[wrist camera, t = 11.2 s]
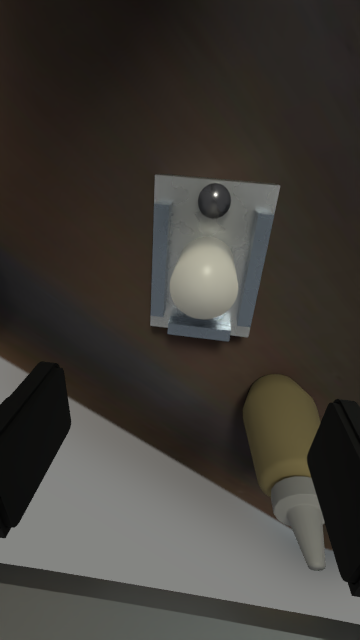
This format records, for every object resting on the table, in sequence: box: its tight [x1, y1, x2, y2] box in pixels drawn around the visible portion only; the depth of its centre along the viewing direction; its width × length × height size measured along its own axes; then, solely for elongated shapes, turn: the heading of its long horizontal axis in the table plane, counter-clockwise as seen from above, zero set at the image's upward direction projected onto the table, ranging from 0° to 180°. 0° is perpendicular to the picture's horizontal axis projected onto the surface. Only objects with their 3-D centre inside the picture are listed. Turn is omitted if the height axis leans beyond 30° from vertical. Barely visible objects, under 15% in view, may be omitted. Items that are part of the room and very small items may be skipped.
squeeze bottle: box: [243, 374, 326, 571], centre depth 29 cm, size 8×8×18 cm
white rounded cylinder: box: [170, 237, 238, 319], centre depth 25 cm, size 7×5×6 cm
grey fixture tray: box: [150, 174, 280, 341], centre depth 28 cm, size 14×10×5 cm
